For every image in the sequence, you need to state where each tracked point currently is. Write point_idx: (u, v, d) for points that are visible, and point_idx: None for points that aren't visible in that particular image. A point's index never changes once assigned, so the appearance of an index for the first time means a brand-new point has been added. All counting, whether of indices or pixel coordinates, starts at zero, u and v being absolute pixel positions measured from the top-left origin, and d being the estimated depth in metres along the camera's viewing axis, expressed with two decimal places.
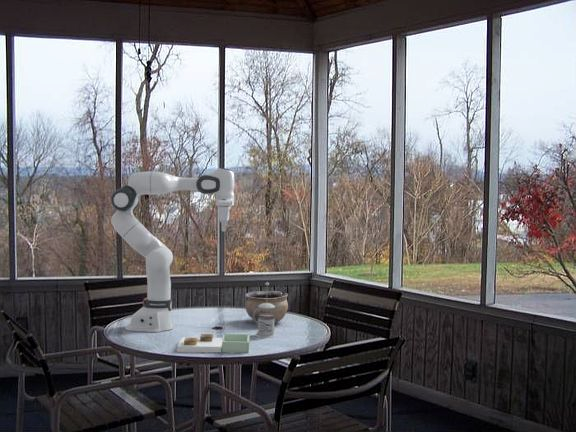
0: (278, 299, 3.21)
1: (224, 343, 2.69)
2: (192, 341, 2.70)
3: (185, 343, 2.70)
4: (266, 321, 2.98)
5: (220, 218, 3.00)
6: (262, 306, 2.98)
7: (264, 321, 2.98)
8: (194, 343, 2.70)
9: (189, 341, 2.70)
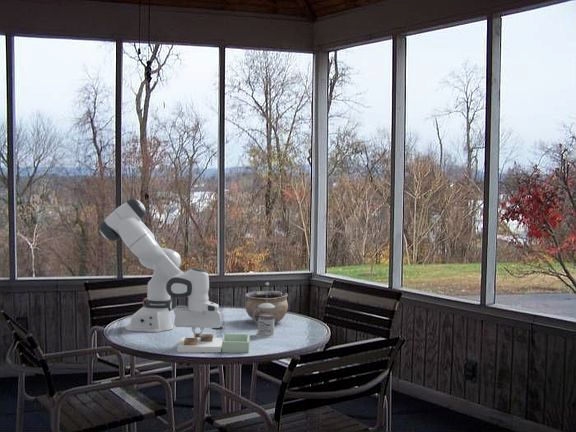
0: (278, 299, 3.21)
1: (224, 343, 2.69)
2: (192, 341, 2.70)
3: (185, 343, 2.70)
4: (266, 321, 2.98)
5: (220, 324, 2.78)
6: (262, 306, 2.98)
7: (264, 321, 2.98)
8: (194, 343, 2.70)
9: (189, 341, 2.70)
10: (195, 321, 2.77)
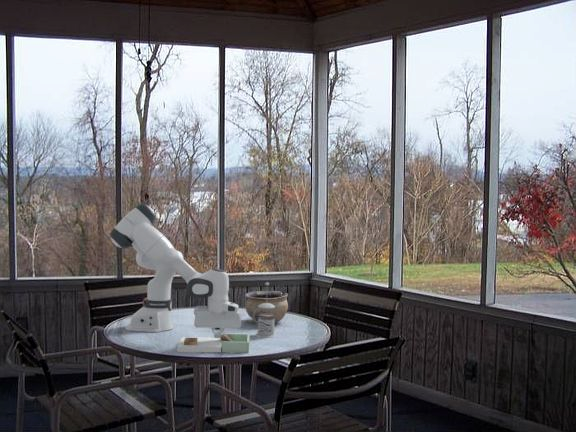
0: (278, 299, 3.21)
1: (224, 343, 2.69)
2: (192, 341, 2.70)
3: (185, 343, 2.70)
4: (266, 321, 2.98)
5: (240, 324, 2.78)
6: (262, 306, 2.98)
7: (264, 321, 2.98)
8: (194, 343, 2.70)
9: (189, 341, 2.70)
10: (215, 321, 2.77)
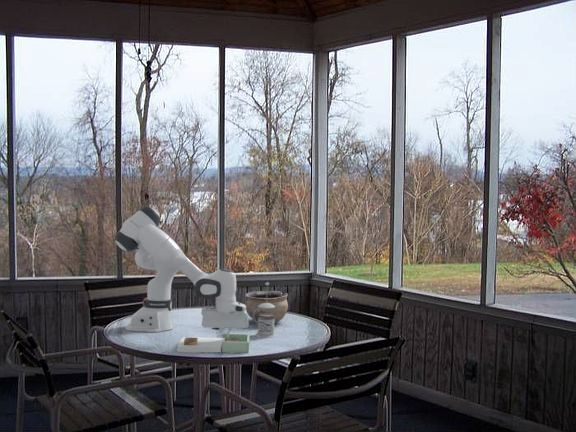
0: (278, 299, 3.21)
1: (224, 343, 2.69)
2: (192, 341, 2.70)
3: (185, 343, 2.70)
4: (266, 321, 2.98)
5: (248, 324, 2.79)
6: (262, 306, 2.98)
7: (264, 321, 2.98)
8: (194, 343, 2.70)
9: (189, 341, 2.70)
10: (223, 321, 2.78)
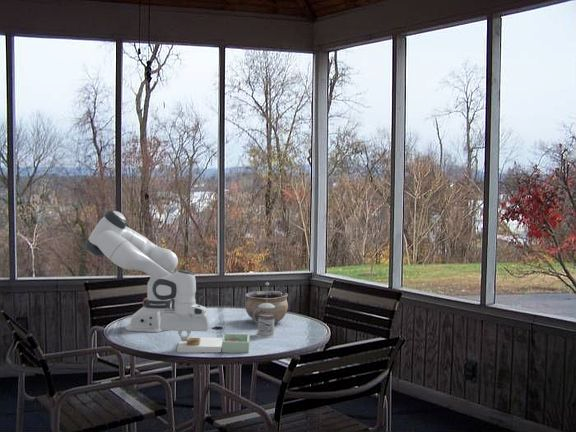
0: (278, 299, 3.21)
1: (224, 343, 2.69)
2: (195, 341, 2.70)
3: (188, 343, 2.70)
4: (266, 321, 2.98)
5: (208, 327, 2.71)
6: (262, 306, 2.98)
7: (264, 321, 2.98)
8: (197, 343, 2.70)
9: (192, 341, 2.70)
10: (182, 324, 2.70)
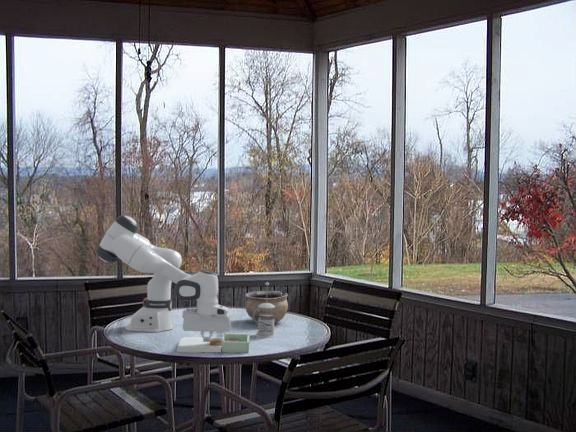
0: (278, 299, 3.21)
1: (224, 343, 2.69)
2: (218, 341, 2.70)
3: (211, 343, 2.70)
4: (266, 321, 2.98)
5: (230, 327, 2.71)
6: (262, 306, 2.98)
7: (264, 321, 2.98)
8: (220, 343, 2.70)
9: (215, 341, 2.70)
10: (204, 325, 2.70)
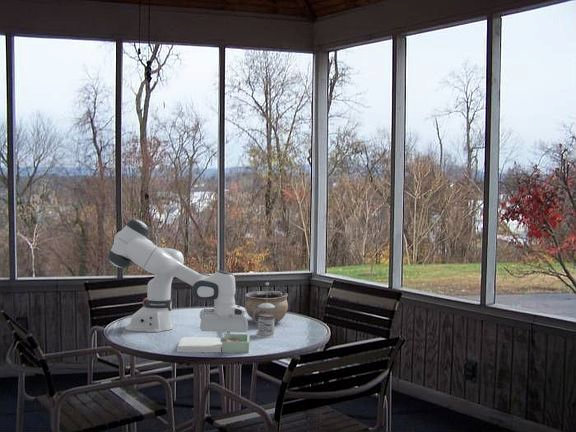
0: (278, 299, 3.21)
1: (224, 343, 2.69)
2: None
3: None
4: (266, 321, 2.98)
5: (247, 327, 2.72)
6: (262, 306, 2.98)
7: (264, 321, 2.98)
8: None
9: None
10: (222, 325, 2.71)
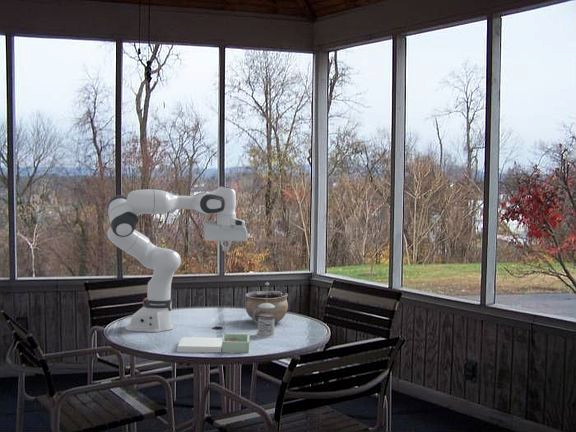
0: (278, 299, 3.21)
1: (224, 343, 2.69)
2: None
3: None
4: (266, 321, 2.98)
5: None
6: (262, 306, 2.98)
7: (264, 321, 2.98)
8: None
9: None
10: (224, 235, 3.00)
